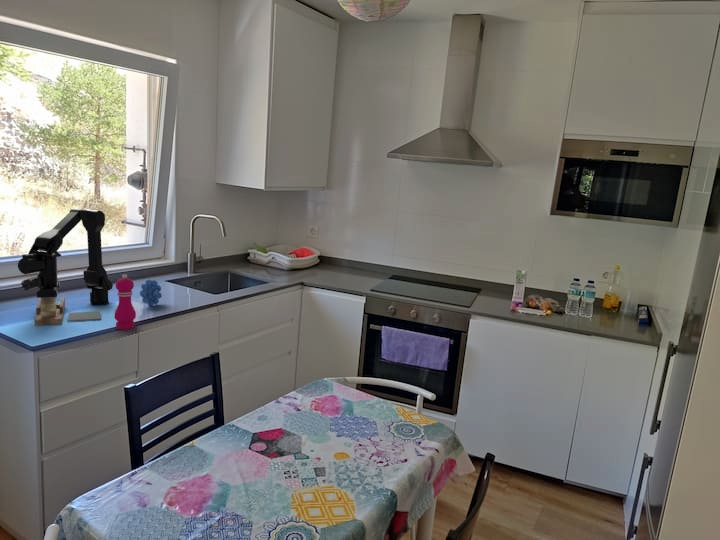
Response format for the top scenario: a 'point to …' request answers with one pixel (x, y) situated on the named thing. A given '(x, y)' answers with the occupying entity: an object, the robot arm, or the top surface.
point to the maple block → (48, 306)
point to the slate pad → (84, 316)
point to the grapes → (150, 292)
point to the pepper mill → (125, 304)
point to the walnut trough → (50, 320)
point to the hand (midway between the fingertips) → (49, 310)
